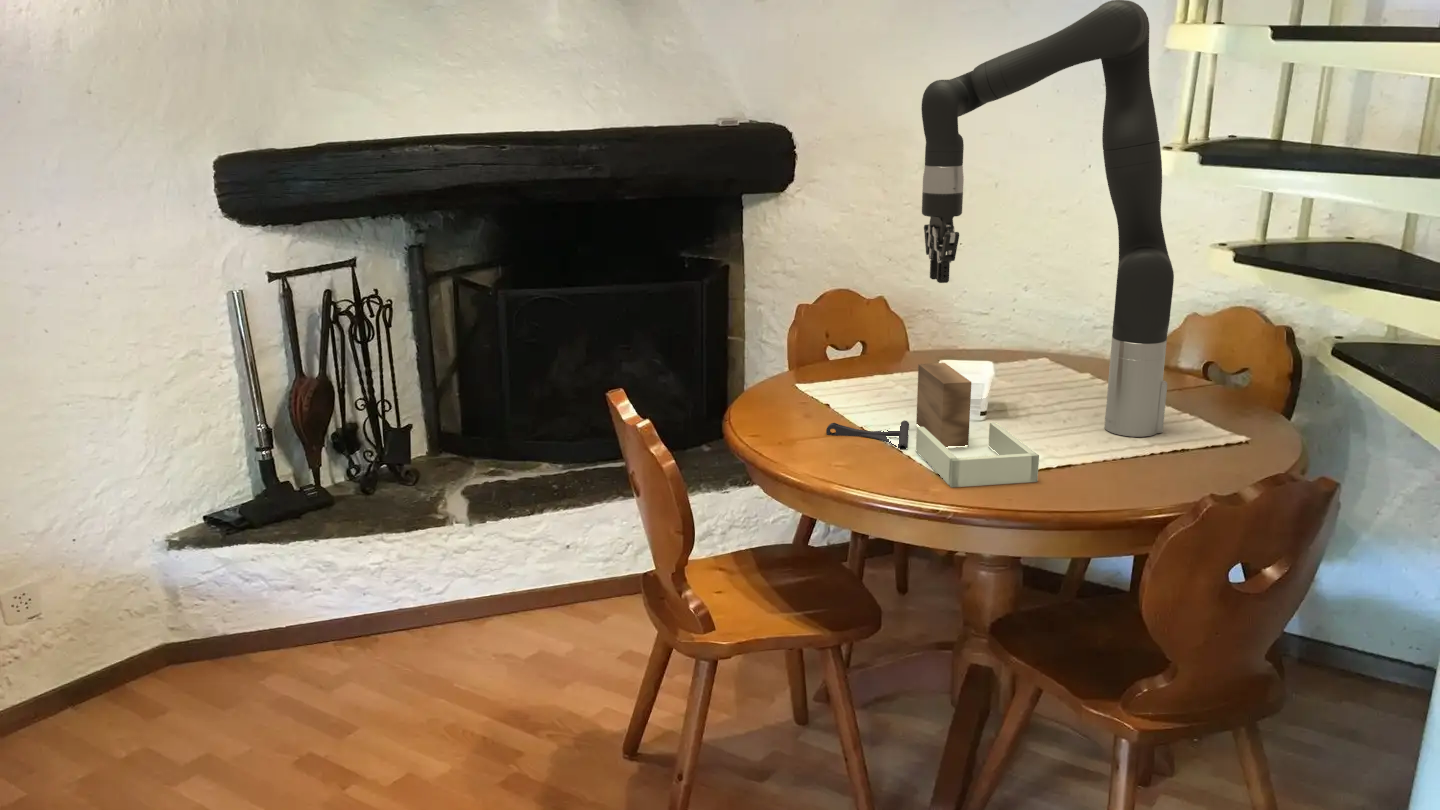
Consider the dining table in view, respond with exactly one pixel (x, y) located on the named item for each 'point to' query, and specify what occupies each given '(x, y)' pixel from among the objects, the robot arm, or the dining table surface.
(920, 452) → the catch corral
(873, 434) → the dark grey t-shaped piece
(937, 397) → the walnut board
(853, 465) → the dining table surface
